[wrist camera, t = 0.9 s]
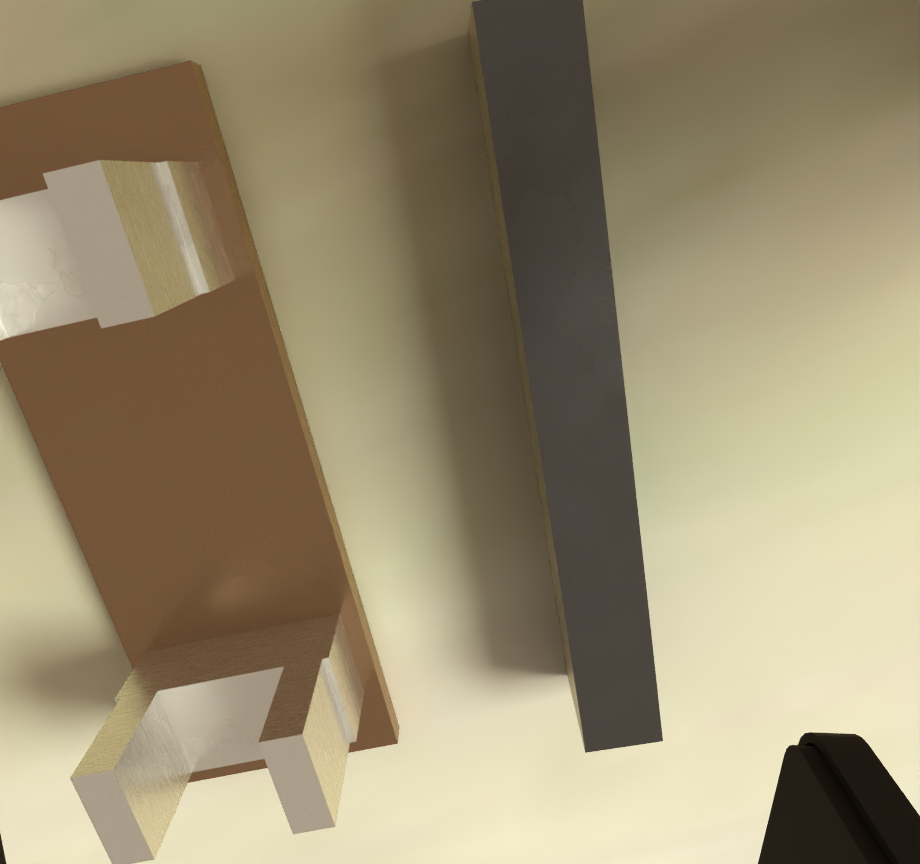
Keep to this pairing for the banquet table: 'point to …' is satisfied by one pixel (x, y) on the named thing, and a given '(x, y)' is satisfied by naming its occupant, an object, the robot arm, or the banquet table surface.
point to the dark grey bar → (569, 352)
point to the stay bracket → (179, 458)
